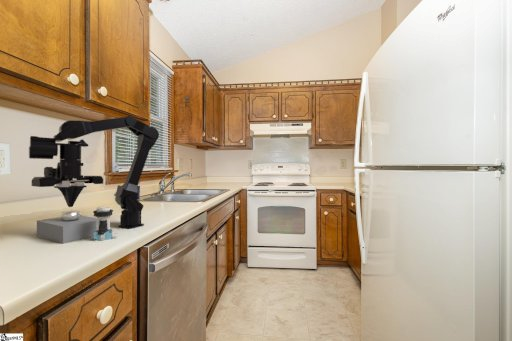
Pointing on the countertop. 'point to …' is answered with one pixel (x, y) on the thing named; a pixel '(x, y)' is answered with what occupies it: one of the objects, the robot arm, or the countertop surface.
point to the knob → (70, 215)
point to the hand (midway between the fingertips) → (70, 206)
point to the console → (67, 229)
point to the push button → (103, 224)
